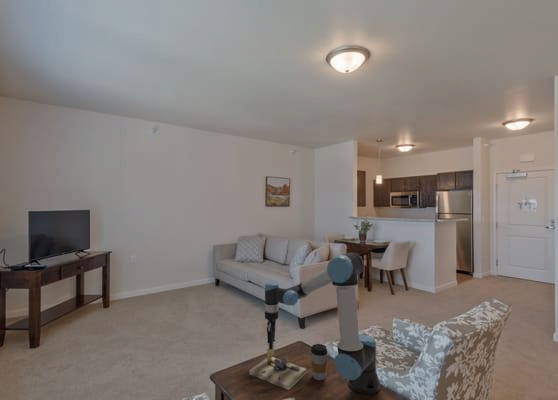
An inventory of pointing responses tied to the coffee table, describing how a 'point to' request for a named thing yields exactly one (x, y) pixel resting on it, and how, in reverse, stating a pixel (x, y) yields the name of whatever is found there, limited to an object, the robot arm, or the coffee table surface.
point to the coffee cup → (319, 361)
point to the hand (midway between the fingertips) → (271, 353)
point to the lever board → (278, 374)
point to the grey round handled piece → (276, 361)
